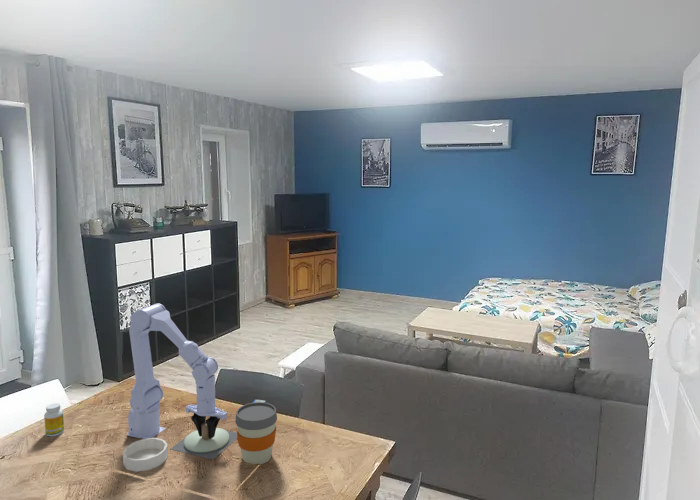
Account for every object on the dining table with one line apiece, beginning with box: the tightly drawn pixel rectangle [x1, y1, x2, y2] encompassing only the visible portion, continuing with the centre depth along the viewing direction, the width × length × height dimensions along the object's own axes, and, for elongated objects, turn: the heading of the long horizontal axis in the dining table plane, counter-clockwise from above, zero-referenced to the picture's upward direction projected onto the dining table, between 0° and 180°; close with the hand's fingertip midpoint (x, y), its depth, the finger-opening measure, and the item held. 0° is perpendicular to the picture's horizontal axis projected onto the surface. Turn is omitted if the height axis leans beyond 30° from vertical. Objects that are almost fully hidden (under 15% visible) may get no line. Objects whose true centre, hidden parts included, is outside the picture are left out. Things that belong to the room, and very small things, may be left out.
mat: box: [170, 428, 238, 461], centre depth 153 cm, size 16×16×1 cm
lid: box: [184, 421, 229, 453], centre depth 153 cm, size 14×14×6 cm
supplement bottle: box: [43, 402, 65, 437], centre depth 157 cm, size 5×5×10 cm
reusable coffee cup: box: [234, 401, 278, 466], centre depth 145 cm, size 13×13×15 cm
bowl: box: [122, 437, 169, 472], centre depth 142 cm, size 12×12×4 cm
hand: (206, 436), depth 153 cm, fingers closed on lid, 3 cm apart
